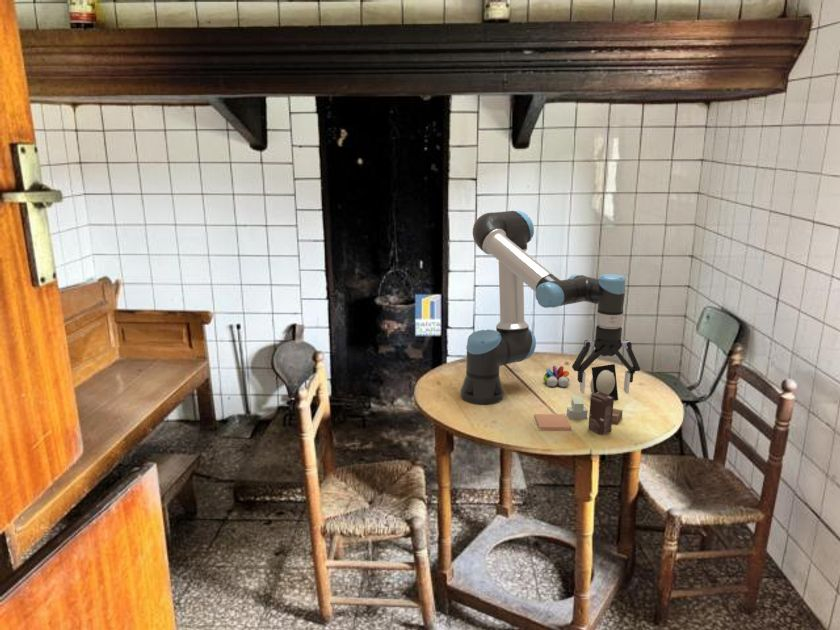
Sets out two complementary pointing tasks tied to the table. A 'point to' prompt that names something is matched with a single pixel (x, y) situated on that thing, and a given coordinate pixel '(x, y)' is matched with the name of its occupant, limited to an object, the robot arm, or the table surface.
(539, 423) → the tile
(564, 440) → the table surface
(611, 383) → the decorative object
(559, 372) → the rainbow disc rolling toy
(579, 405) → the pale green brick
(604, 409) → the box
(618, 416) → the walnut brick
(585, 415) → the grey brick
